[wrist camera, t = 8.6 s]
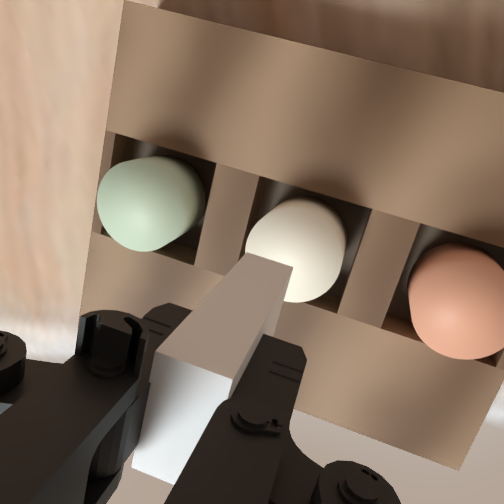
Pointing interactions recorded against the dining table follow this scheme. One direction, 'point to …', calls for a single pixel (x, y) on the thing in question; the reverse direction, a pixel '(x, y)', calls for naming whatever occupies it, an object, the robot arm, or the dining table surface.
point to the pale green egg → (150, 201)
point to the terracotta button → (458, 301)
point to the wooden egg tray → (320, 187)
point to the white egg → (302, 244)
